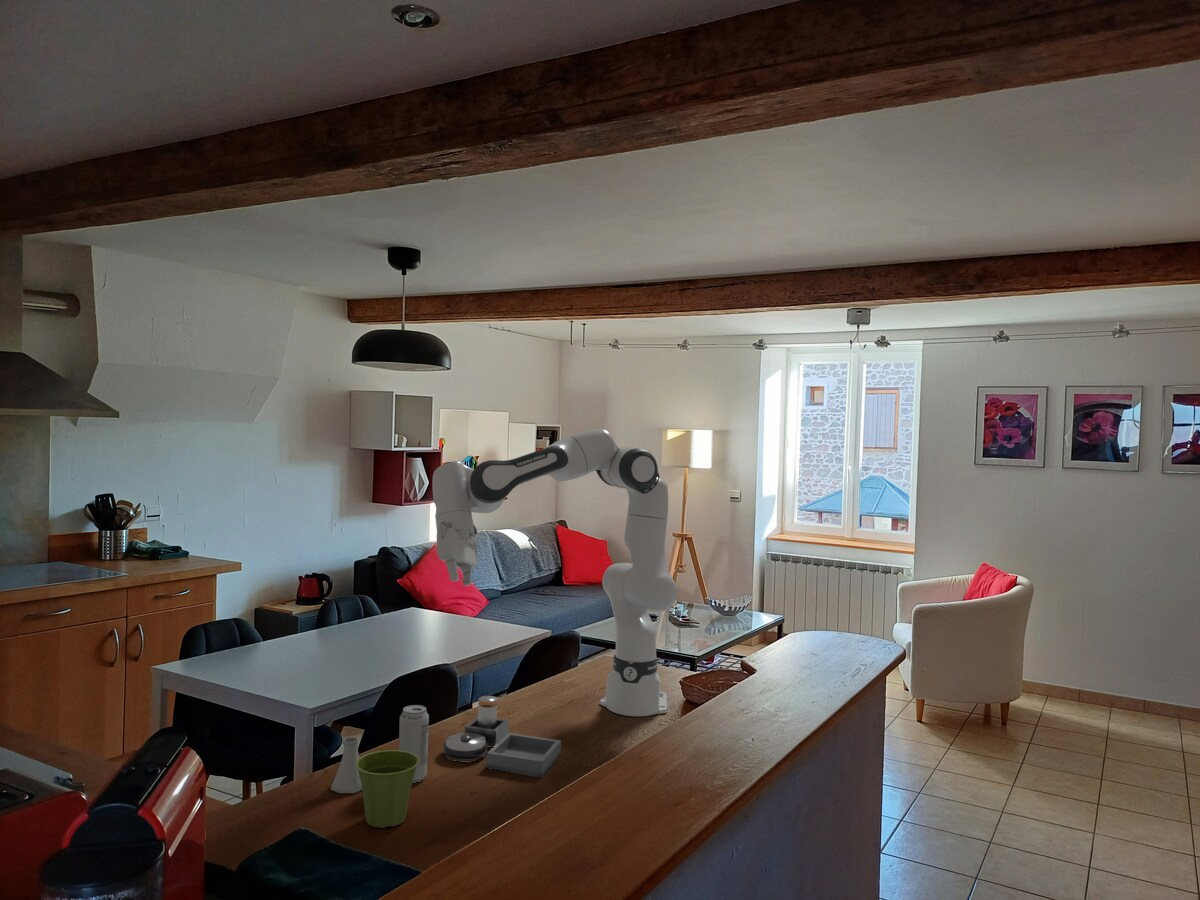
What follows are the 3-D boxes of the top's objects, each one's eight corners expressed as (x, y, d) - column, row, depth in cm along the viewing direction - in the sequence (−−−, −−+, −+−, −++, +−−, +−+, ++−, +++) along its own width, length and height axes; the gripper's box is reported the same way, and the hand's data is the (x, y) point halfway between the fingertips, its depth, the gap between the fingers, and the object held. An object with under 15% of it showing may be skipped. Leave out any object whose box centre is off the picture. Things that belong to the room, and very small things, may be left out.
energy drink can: (401, 772, 178) (404, 703, 178) (429, 773, 178) (432, 704, 177) (393, 784, 172) (396, 712, 172) (422, 785, 172) (425, 714, 171)
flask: (356, 797, 165) (358, 747, 165) (323, 792, 167) (325, 743, 167) (373, 782, 173) (375, 734, 172) (341, 777, 174) (343, 730, 174)
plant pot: (422, 806, 163) (424, 749, 162) (410, 836, 151) (413, 775, 150) (361, 804, 162) (364, 748, 162) (345, 834, 150) (347, 773, 150)
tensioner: (470, 730, 204) (470, 714, 204) (508, 736, 201) (508, 719, 201) (435, 759, 185) (436, 741, 185) (476, 766, 183) (477, 747, 183)
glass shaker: (481, 735, 201) (483, 694, 201) (498, 738, 200) (500, 697, 200) (473, 742, 197) (475, 700, 197) (491, 744, 196) (493, 702, 195)
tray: (507, 747, 194) (508, 732, 194) (560, 755, 191) (561, 740, 191) (486, 768, 182) (486, 753, 182) (542, 777, 178) (542, 761, 178)
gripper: (453, 516, 191) (459, 575, 188) (479, 531, 211) (486, 585, 207) (427, 521, 192) (433, 580, 188) (455, 536, 212) (461, 589, 208)
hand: (461, 583), depth 198 cm, fingers open, 8 cm apart
